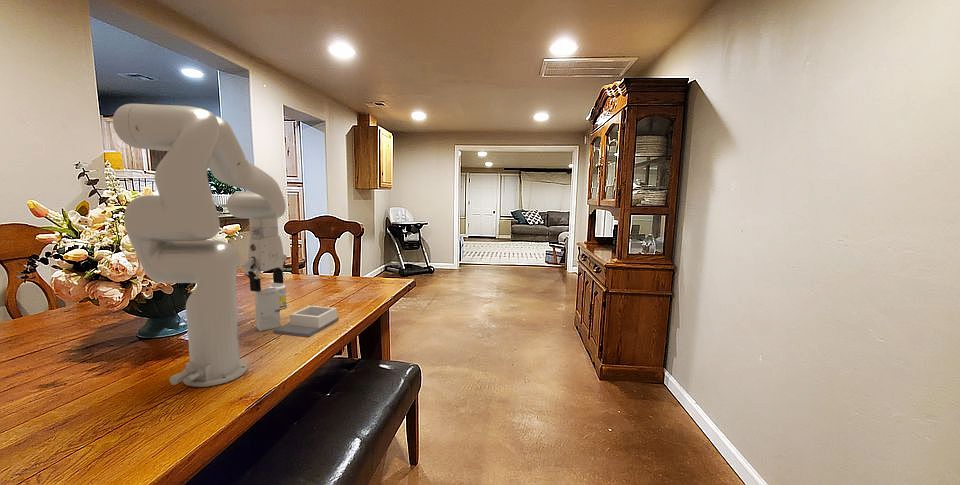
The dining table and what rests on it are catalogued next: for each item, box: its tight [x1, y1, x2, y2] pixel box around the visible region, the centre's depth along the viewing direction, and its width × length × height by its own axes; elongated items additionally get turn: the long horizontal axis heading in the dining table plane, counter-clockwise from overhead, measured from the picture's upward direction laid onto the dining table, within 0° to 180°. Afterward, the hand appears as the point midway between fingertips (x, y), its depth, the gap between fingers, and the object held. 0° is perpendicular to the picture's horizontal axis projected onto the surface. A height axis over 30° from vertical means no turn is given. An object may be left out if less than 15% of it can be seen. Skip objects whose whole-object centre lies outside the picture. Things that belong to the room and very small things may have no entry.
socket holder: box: [272, 305, 340, 338], centre depth 124 cm, size 16×12×4 cm
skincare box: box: [254, 287, 281, 332], centre depth 122 cm, size 6×4×12 cm
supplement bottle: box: [268, 279, 287, 310], centre depth 142 cm, size 6×6×10 cm
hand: (267, 286), depth 122 cm, fingers open, 9 cm apart
